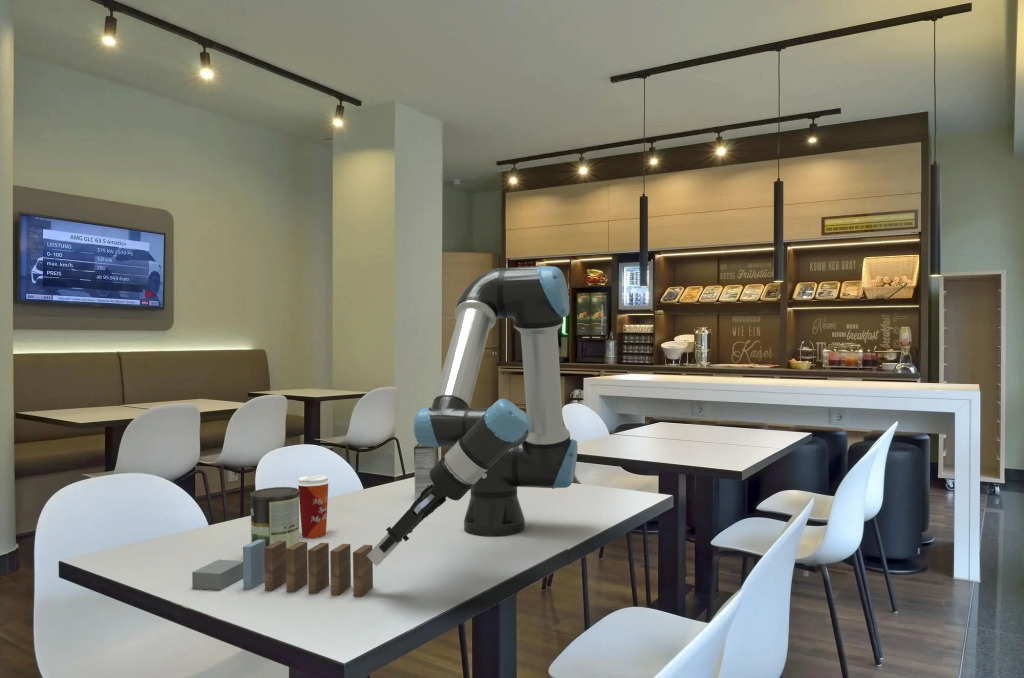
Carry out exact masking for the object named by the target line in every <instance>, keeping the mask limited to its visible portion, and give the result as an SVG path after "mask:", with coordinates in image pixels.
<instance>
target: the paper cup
mask: <svg viewBox="0 0 1024 678" xmlns="http://www.w3.org/2000/svg"><path fill="white" fill-rule="evenodd" d="M330 483H331V481H330V480H329V478H328V476H327V475H323V474H321V475H317V474H315V475H306V476H301V477H299V478H298V481H297V483H296V485H297V487H298V488H297V489H299V490H300V493H299V517H300V525H301V526H300V527H301V535H302V536H303V537H302V538H304V537H305V538H304V539H317V538H316V537H319V538H322V537H321V536H323V537H325V536H326V535H327V520H328V504H329V503H328V498H329V484H330ZM325 534H326V535H325ZM324 535H325V536H324Z"/></svg>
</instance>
